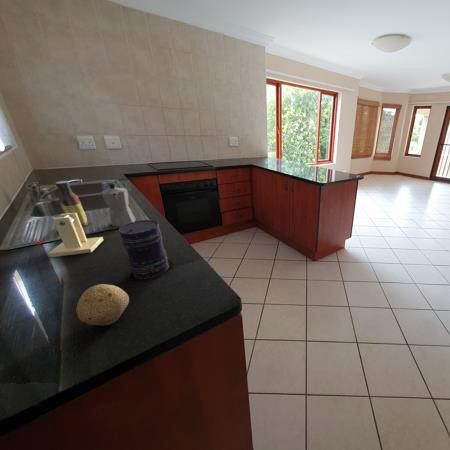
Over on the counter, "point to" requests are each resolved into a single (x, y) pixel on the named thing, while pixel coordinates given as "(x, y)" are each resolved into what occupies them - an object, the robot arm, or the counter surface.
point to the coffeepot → (118, 206)
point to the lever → (50, 233)
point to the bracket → (72, 237)
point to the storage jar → (144, 248)
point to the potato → (102, 304)
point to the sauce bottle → (70, 202)
